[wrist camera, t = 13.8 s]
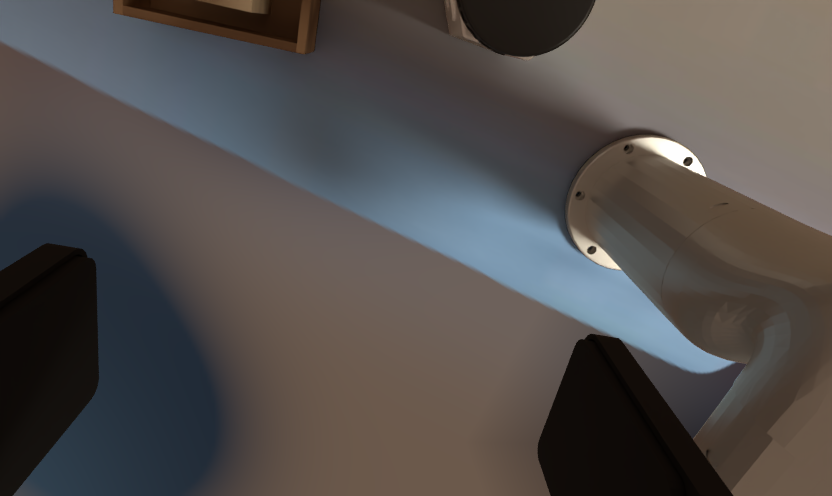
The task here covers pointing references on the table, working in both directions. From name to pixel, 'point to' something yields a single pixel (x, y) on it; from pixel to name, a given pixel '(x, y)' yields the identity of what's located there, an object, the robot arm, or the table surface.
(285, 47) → the box
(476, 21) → the jar
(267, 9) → the beech block
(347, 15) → the table surface
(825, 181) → the table surface
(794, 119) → the table surface
